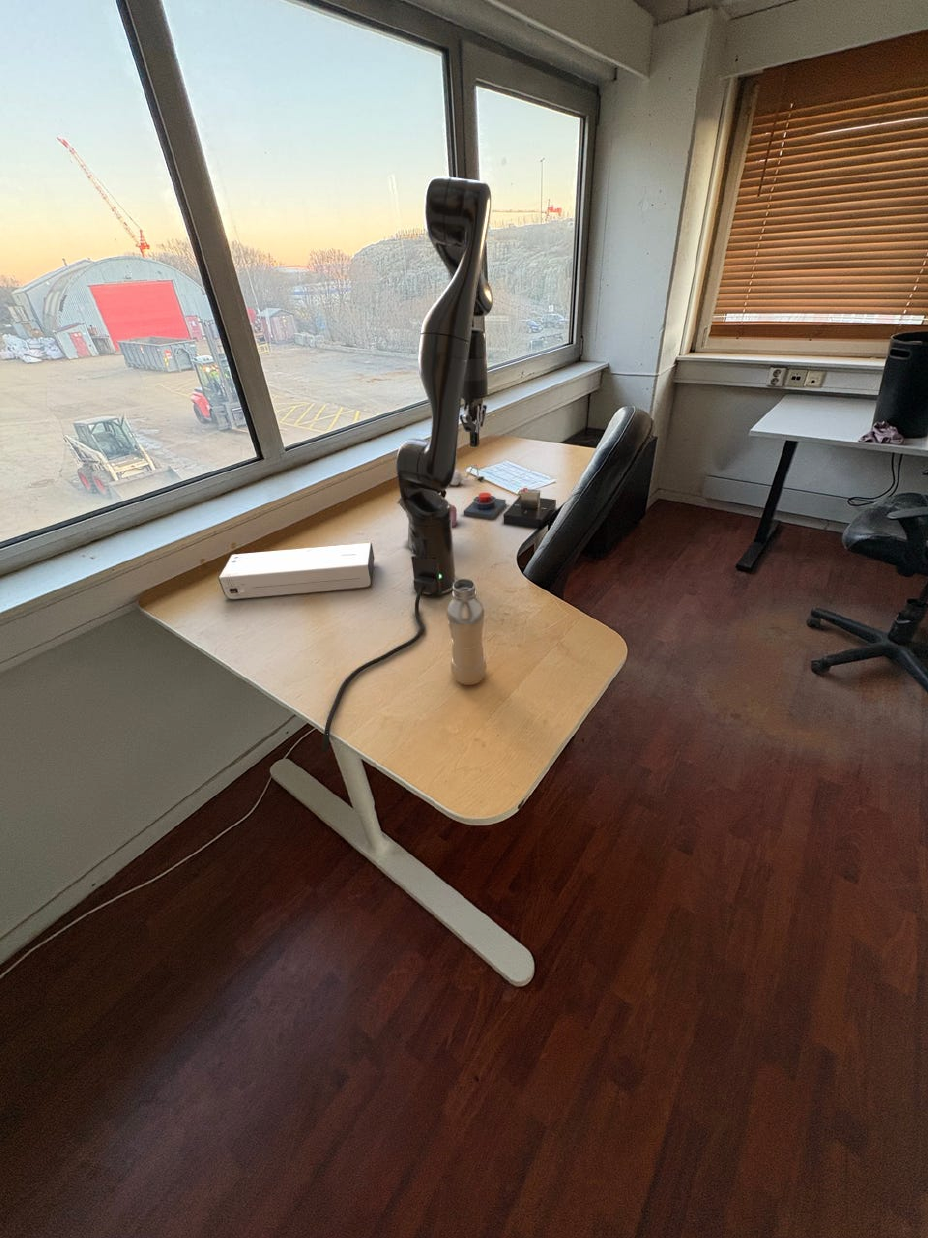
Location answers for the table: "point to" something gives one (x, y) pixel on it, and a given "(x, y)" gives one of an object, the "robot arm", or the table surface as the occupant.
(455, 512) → the video game controller
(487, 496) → the button
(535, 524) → the hob panel
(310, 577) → the laminator
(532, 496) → the beige rectangular block
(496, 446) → the table surface
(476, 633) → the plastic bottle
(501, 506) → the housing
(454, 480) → the clip-on lamp
